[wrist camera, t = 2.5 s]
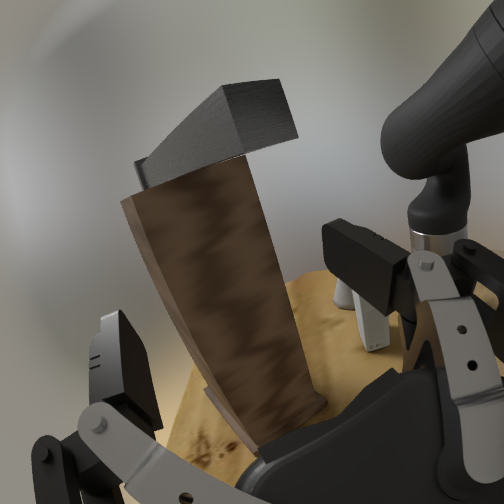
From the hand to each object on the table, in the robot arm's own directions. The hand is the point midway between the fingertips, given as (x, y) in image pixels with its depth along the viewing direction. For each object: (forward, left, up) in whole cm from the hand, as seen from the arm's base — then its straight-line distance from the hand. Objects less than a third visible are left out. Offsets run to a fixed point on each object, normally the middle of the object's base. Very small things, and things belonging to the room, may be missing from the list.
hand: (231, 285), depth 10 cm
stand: (-4, -19, -28) cm, 34 cm away
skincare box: (-24, -15, -28) cm, 40 cm away
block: (-4, -14, +4) cm, 15 cm away
